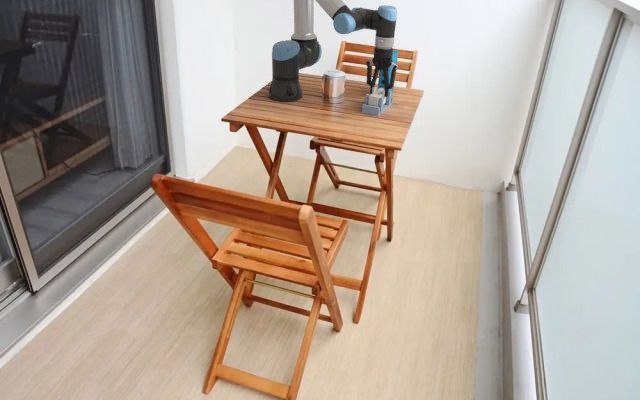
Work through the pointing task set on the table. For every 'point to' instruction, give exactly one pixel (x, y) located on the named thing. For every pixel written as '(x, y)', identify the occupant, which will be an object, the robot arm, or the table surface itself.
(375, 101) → the white rectangular bar
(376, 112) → the rack
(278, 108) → the table surface
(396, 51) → the block
